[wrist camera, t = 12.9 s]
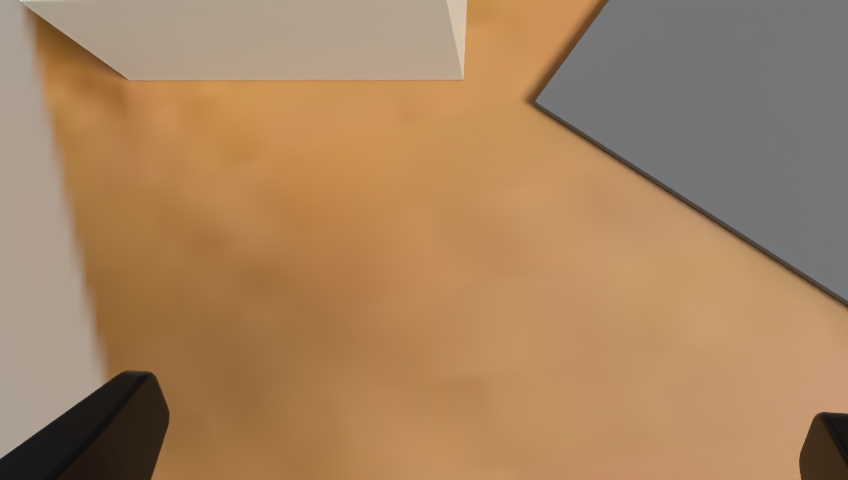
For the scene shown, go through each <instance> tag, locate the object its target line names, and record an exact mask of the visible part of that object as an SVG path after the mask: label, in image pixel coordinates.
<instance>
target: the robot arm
mask: <svg viewBox="0 0 848 480" xmlns="http://www.w3.org/2000/svg"><path fill="white" fill-rule="evenodd" d="M168 424H169V409H168V406H167V403H166V401H165V398H164V396H163V393H162V391H161V388H160V386H159V383H158V380H157V378H156V376H155V375H154V374H153V373H151V372H148V371H124V372H122V373H120V374H118V375H117V376H116V377H114V378H113V379H111V380H110V381H109V382H107V383H106V384H104V385H103V386H102V387H100V388H99V389H97V390H96V391H95V392H93V393H92V394H91V395H89V396H88V397H86V398H85V399H83V400H82V401H81V402H79V403H78V404H76V405H75V406H74V407H72V408H71V409H69V410H68V411H67V412H65V413H64V414H63V415H61V416H60V417H58V418H57V419H56V420H54V421H53V422H51V423H50V424H49V425H47V426H46V427H45V428H43V429H42V430H40V431H39V432H37V433H36V434H35V435H33V436H32V437H30V438H29V439H28V440H26V441H25V442H24V443H22V444H21V445H19V446H18V447H16V448H15V449H14V450H13V451H11V452H9V453H8V454H7V455H5V456H4V457H2V458H1V459H0V480H151V478H152V475H153V472H154V469H155V466H156V463H157V459H158V456H159V453H160V450H161V447H162V444H163V441H164V438H165V434H166V431H167V428H168ZM799 467H800V474H801V480H848V414H846V413H829V412H821V413H818V414H817V415H816V416H815V417H814V419H813V421H812V423H811V426H810V429H809V431H808V434H807V436H806V439H805V442H804V444H803V447H802V450H801V453H800V458H799Z"/></svg>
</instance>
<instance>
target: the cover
mask: <svg viewBox="0 0 848 480" xmlns="http://www.w3.org/2000/svg"><path fill="white" fill-rule="evenodd" d="M19 2H21V3H22V4H24V5H25V6H26V7H28V8H29V9H31V10H32V11H33V12H35V13H36V14H38V15H39V16H40V17H42V18H43V19H45V20H46V21H47V22H49V23H50V24H52V25H53V26H54V27H56V28H57V29H59V30H60V31H61V32H63V33H64V34H65V35H67V36H68V37H70V38H71V39H72V40H74V41H75V42H77V43H78V44H79V45H81V46H82V47H84V48H85V49H86V50H88V51H89V52H91V53H92V54H93V55H95V56H96V57H98V58H99V59H100V60H102V61H103V62H105V63H106V64H107V65H109V66H110V67H112V68H113V69H114V70H116V71H117V72H118V73H120V74H121V75H123V76H124V77H125V78H127V79H128V80H463V77H464V56H465V35H466V14H467V0H19Z"/></svg>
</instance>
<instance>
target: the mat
mask: <svg viewBox="0 0 848 480" xmlns="http://www.w3.org/2000/svg"><path fill="white" fill-rule="evenodd" d="M535 106H536V107H537V108H539V109H541V110H542V111H544V112H545V113H547V114H548V115H550V116H551V117H553V118H555V119H556V120H558V121H559V122H561V123H562V124H564V125H566V126H567V127H569V128H570V129H572V130H573V131H575V132H577V133H578V134H580V135H581V136H583V137H584V138H586V139H587V140H589V141H591V142H592V143H594V144H595V145H597V146H598V147H600V148H602V149H603V150H605V151H606V152H608V153H609V154H611V155H613V156H614V157H616V158H617V159H619V160H620V161H622V162H623V163H625V164H627V165H628V166H630V167H631V168H633V169H634V170H636V171H638V172H639V173H641V174H642V175H644V176H645V177H647V178H649V179H650V180H652V181H653V182H655V183H656V184H658V185H659V186H661V187H663V188H664V189H666V190H667V191H669V192H670V193H672V194H674V195H675V196H677V197H678V198H680V199H681V200H683V201H685V202H686V203H688V204H689V205H691V206H692V207H694V208H695V209H697V210H699V211H700V212H702V213H703V214H705V215H706V216H708V217H710V218H711V219H713V220H714V221H716V222H717V223H719V224H721V225H722V226H724V227H725V228H727V229H728V230H730V231H731V232H733V233H735V234H736V235H738V236H739V237H741V238H742V239H744V240H746V241H747V242H749V243H750V244H752V245H753V246H755V247H757V248H758V249H760V250H761V251H763V252H764V253H766V254H767V255H769V256H771V257H772V258H774V259H775V260H777V261H778V262H780V263H782V264H783V265H785V266H786V267H788V268H789V269H791V270H793V271H794V272H796V273H797V274H799V275H800V276H802V277H804V278H805V279H807V280H808V281H810V282H811V283H813V284H814V285H816V286H818V287H819V288H821V289H822V290H824V291H825V292H827V293H829V294H830V295H832V296H833V297H835V298H836V299H838V300H840V301H841V302H843V303H844V304H846V305H847V306H848V0H609V1H608V2H607V3H606V5H605V6H604V8H603V9H602V10H601V12H600V13H599V14H598V16H597V17H596V18H595V20H594V21H593V23H592V24H591V25H590V27H589V28H588V29H587V31H586V32H585V34H584V35H583V36H582V38H581V39H580V40H579V42H578V43H577V44H576V46H575V47H574V49H573V50H572V51H571V53H570V54H569V55H568V57H567V58H566V59H565V61H564V62H563V64H562V65H561V66H560V68H559V69H558V70H557V72H556V73H555V75H554V76H553V77H552V79H551V80H550V81H549V83H548V84H547V85H546V87H545V88H544V90H543V91H542V92H541V94H540V95H539V96H538V98H537V99H536V100H535Z"/></svg>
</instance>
